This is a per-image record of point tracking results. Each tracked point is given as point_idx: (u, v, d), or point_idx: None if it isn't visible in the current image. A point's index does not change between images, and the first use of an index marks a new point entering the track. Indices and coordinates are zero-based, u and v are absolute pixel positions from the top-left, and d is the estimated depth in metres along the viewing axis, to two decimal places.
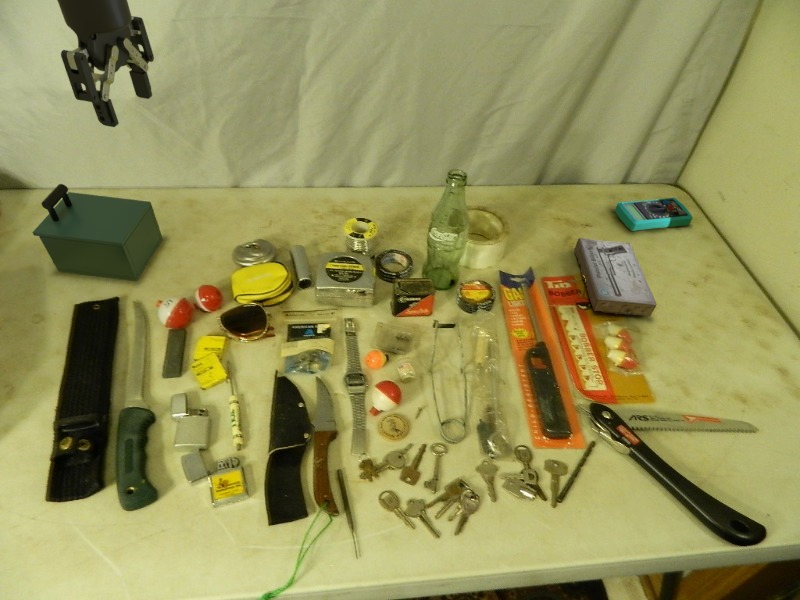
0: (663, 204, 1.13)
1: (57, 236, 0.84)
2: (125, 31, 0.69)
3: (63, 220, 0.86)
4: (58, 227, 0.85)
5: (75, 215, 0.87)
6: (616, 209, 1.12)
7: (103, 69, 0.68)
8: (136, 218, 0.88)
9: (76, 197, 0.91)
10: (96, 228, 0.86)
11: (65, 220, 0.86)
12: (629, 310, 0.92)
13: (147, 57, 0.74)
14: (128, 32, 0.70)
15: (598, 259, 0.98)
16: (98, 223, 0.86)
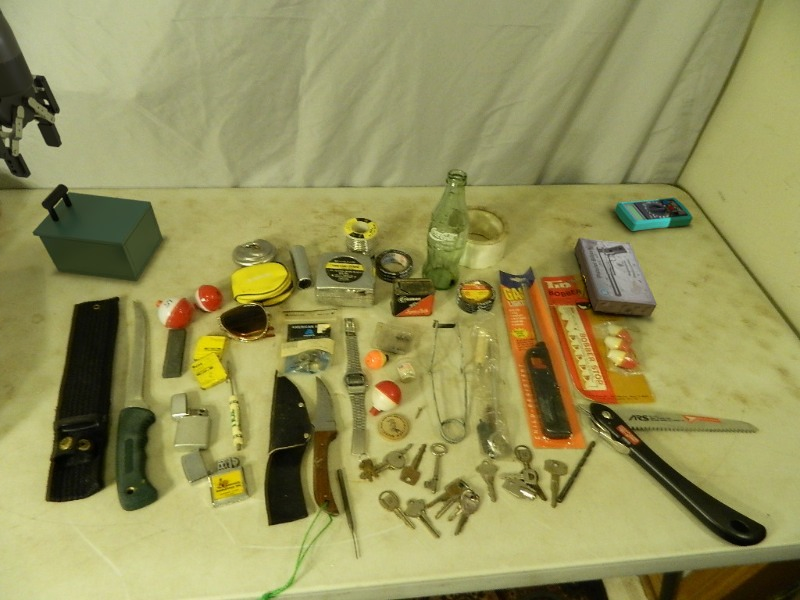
0: (663, 204, 1.13)
1: (57, 236, 0.84)
2: (29, 90, 0.75)
3: (63, 220, 0.86)
4: (58, 227, 0.85)
5: (75, 215, 0.87)
6: (616, 209, 1.12)
7: (11, 127, 0.74)
8: (136, 218, 0.88)
9: (76, 197, 0.91)
10: (96, 228, 0.86)
11: (65, 220, 0.86)
12: (629, 310, 0.92)
13: (53, 110, 0.81)
14: (32, 91, 0.76)
15: (598, 259, 0.98)
16: (98, 223, 0.86)
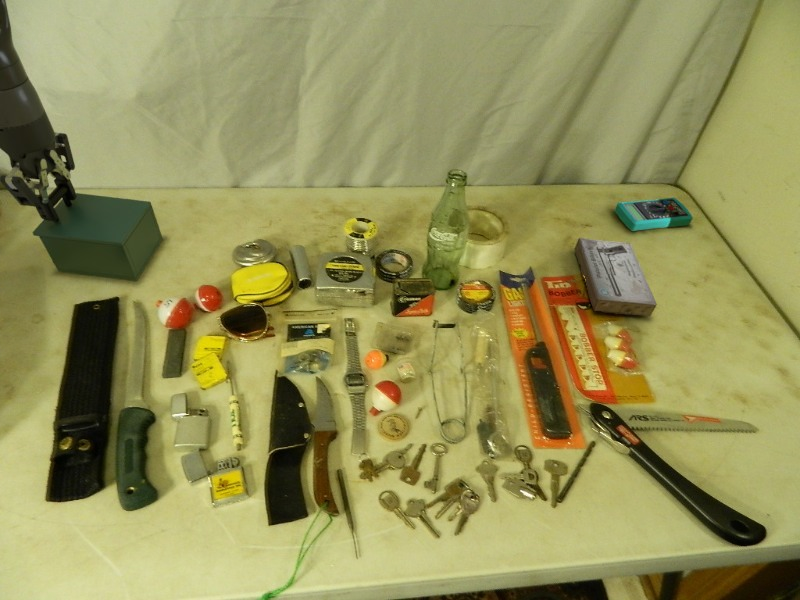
0: (663, 204, 1.13)
1: (57, 236, 0.84)
2: None
3: (63, 220, 0.86)
4: (58, 227, 0.85)
5: (75, 215, 0.87)
6: (616, 209, 1.12)
7: (34, 178, 0.80)
8: (136, 218, 0.88)
9: (76, 197, 0.91)
10: (96, 228, 0.86)
11: (65, 220, 0.86)
12: (629, 310, 0.92)
13: (69, 167, 0.86)
14: (53, 143, 0.82)
15: (598, 259, 0.98)
16: (98, 223, 0.86)
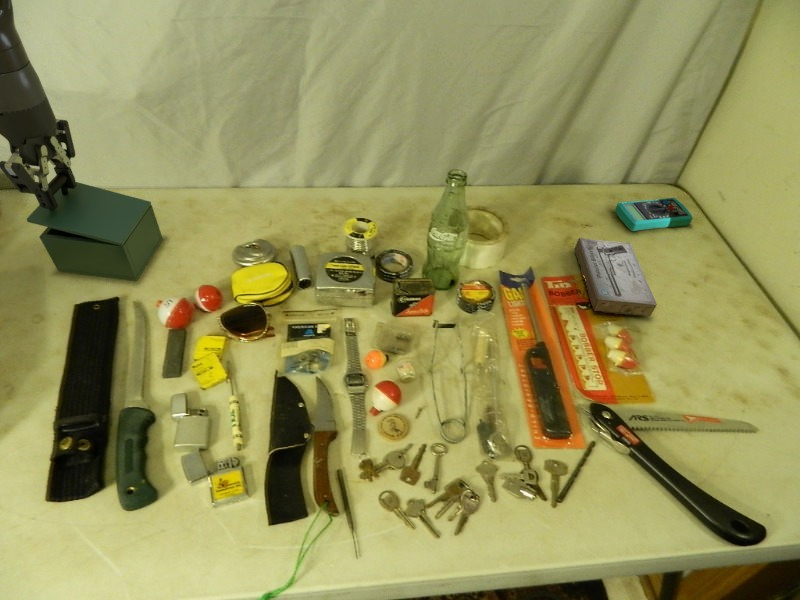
0: (663, 204, 1.13)
1: (53, 226, 0.83)
2: None
3: (60, 209, 0.85)
4: (54, 217, 0.84)
5: (72, 206, 0.86)
6: (616, 209, 1.12)
7: (34, 165, 0.78)
8: (137, 218, 0.88)
9: None
10: (95, 223, 0.85)
11: (61, 209, 0.85)
12: (629, 310, 0.92)
13: (69, 154, 0.85)
14: (53, 129, 0.80)
15: (598, 259, 0.98)
16: (97, 218, 0.86)
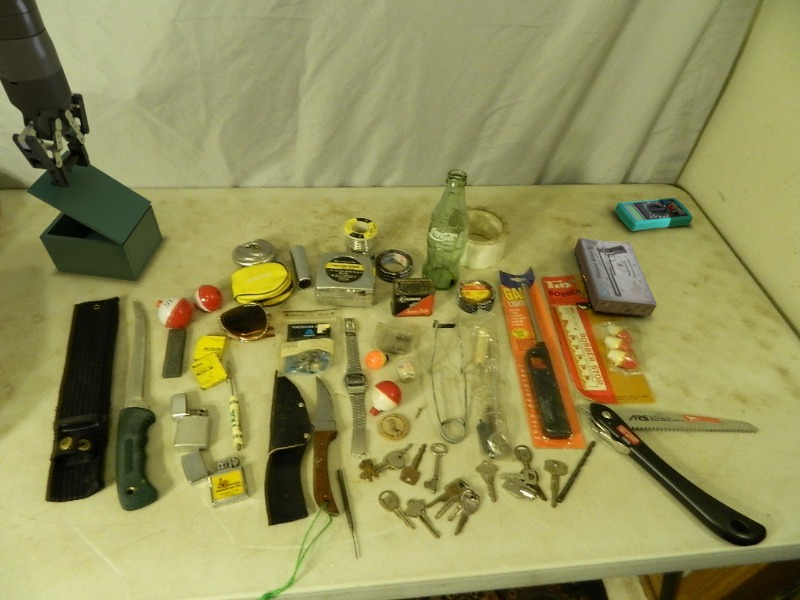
0: (663, 204, 1.13)
1: (55, 206, 0.79)
2: (65, 102, 0.76)
3: (62, 187, 0.81)
4: (57, 195, 0.80)
5: (75, 186, 0.83)
6: (616, 209, 1.12)
7: (47, 139, 0.75)
8: (138, 218, 0.88)
9: None
10: (97, 213, 0.83)
11: (64, 188, 0.82)
12: (629, 310, 0.92)
13: (83, 130, 0.81)
14: (68, 103, 0.77)
15: (598, 259, 0.98)
16: (99, 208, 0.84)
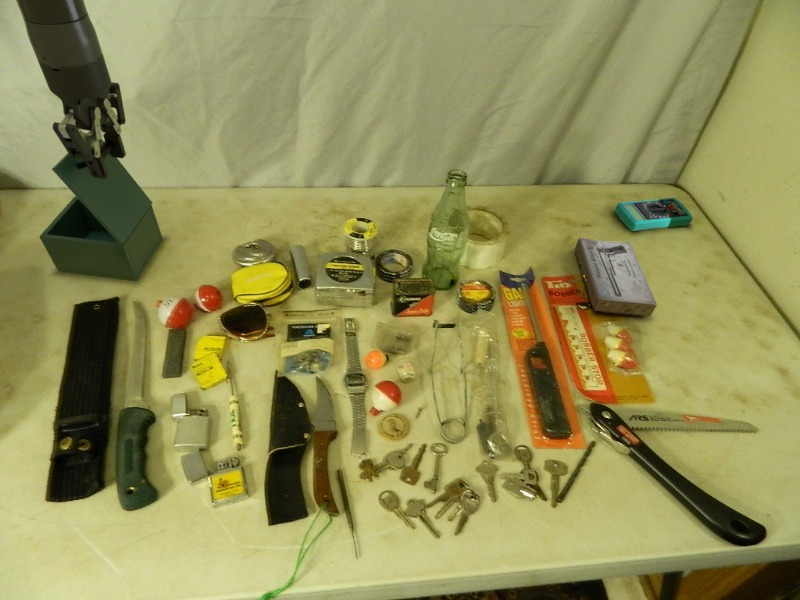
0: (663, 204, 1.13)
1: (74, 191, 0.77)
2: (103, 91, 0.74)
3: (84, 172, 0.79)
4: (78, 180, 0.78)
5: None
6: (616, 209, 1.12)
7: (86, 128, 0.73)
8: (139, 218, 0.88)
9: (99, 144, 0.82)
10: (108, 207, 0.82)
11: (85, 173, 0.79)
12: (629, 310, 0.92)
13: (120, 121, 0.79)
14: (106, 92, 0.75)
15: (598, 259, 0.98)
16: (111, 201, 0.83)
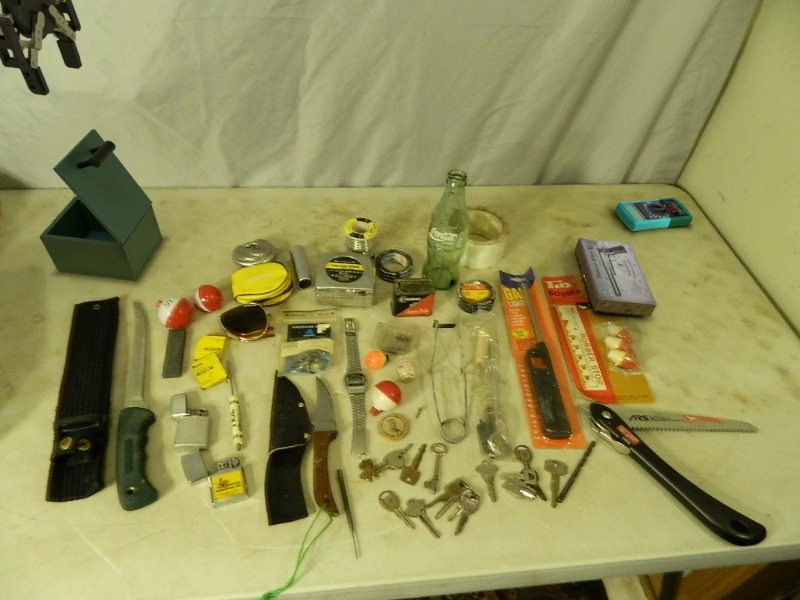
0: (663, 204, 1.13)
1: (75, 191, 0.77)
2: None
3: (85, 171, 0.79)
4: (79, 179, 0.78)
5: (95, 172, 0.81)
6: (616, 209, 1.12)
7: (30, 36, 0.68)
8: (139, 218, 0.88)
9: (99, 144, 0.82)
10: (108, 207, 0.82)
11: (86, 172, 0.79)
12: (629, 310, 0.92)
13: (74, 26, 0.75)
14: None
15: (598, 259, 0.98)
16: (111, 201, 0.83)
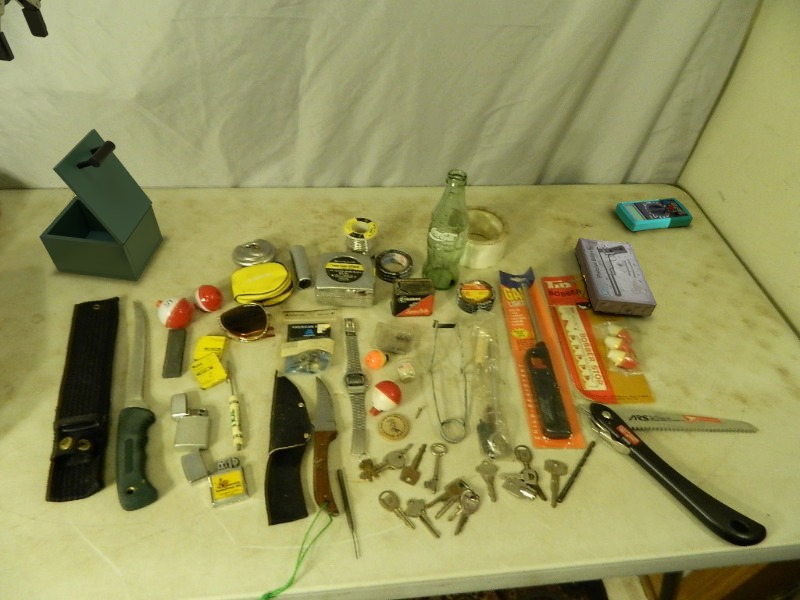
0: (663, 204, 1.13)
1: (75, 191, 0.77)
2: None
3: (85, 171, 0.79)
4: (79, 179, 0.78)
5: (95, 172, 0.81)
6: (616, 209, 1.12)
7: None
8: (139, 218, 0.88)
9: (99, 144, 0.82)
10: (108, 207, 0.82)
11: (86, 172, 0.79)
12: (629, 310, 0.92)
13: None
14: None
15: (598, 259, 0.98)
16: (111, 201, 0.83)
